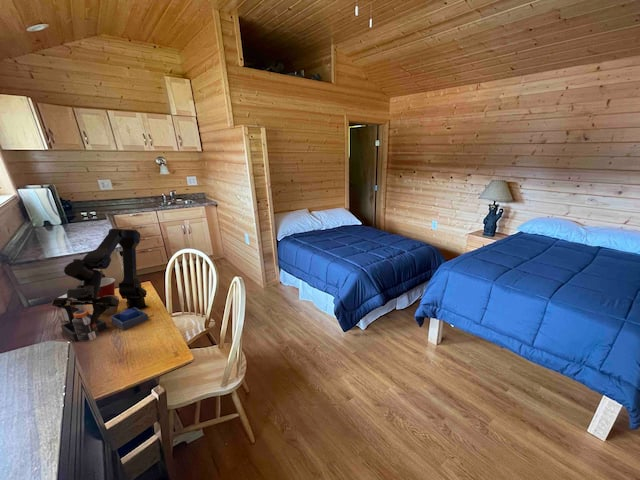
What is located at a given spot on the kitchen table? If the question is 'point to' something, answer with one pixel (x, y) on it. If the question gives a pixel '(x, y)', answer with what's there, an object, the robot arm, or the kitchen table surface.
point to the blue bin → (130, 323)
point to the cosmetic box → (66, 311)
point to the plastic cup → (107, 287)
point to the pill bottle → (84, 326)
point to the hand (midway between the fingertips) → (81, 324)
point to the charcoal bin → (71, 332)
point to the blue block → (128, 315)
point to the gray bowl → (111, 309)
